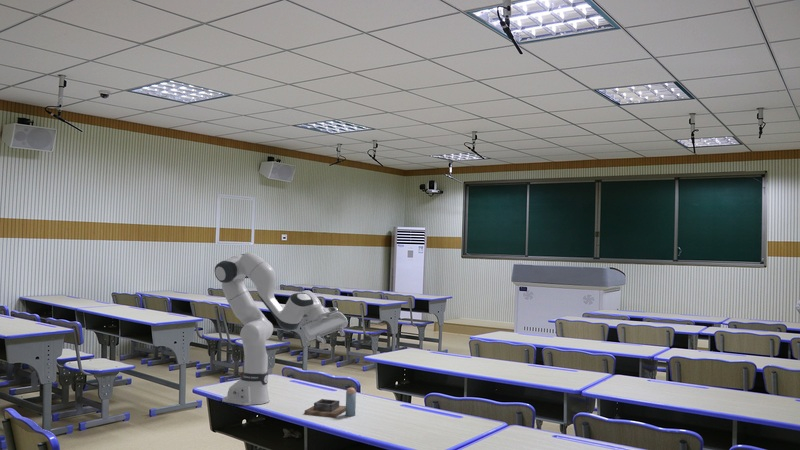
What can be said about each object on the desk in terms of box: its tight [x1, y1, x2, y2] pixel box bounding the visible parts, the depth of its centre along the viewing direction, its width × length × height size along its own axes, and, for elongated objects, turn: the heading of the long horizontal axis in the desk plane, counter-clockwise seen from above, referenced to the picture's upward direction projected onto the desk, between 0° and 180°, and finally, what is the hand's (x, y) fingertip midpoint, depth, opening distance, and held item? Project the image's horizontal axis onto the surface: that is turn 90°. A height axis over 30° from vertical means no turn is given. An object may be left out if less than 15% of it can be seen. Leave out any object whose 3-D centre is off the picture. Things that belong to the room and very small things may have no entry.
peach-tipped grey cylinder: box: [344, 387, 357, 417], centre depth 278 cm, size 4×4×12 cm
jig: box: [304, 398, 346, 419], centre depth 282 cm, size 15×15×4 cm
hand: (334, 338), depth 277 cm, fingers open, 8 cm apart
